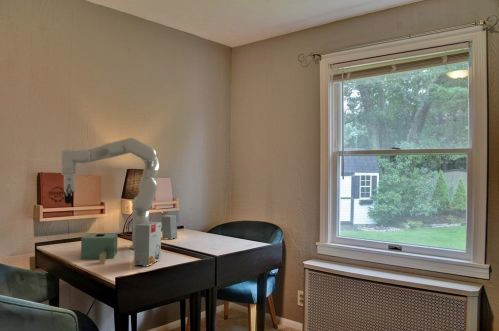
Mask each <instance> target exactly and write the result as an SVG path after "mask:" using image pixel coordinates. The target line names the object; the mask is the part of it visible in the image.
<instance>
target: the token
mask: <svg viewBox="0 0 499 331" xmlns="http://www.w3.org/2000/svg"><path fill="white" fill-rule="evenodd" d="M106 262H107V259H106V252H101V253H100V259H99V265H105V263H106Z"/></svg>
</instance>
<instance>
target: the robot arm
mask: <svg viewBox="0 0 499 331" xmlns="http://www.w3.org/2000/svg"><path fill="white" fill-rule="evenodd" d="M130 153H131V154H132V155H134V156H136V157H137V158H139V159H141V161H142V162H143V163H144V164H143V165H144V168H143V171H142V176H141V179H140V181H139V184H138V193H137V195H136V196H135V197H134V198H133V199H132V232H131V234H132V240H131V241H132V242H131V245H129V249H130V250H135V226H136V225H138V224H142V223H145V222H150V210H151V208H152V206H153V204H154V200H155V198H156V193H157V190H158V183H157V179H158V178H157V177H158V174H159V171H160V161H159V159H158V157H157V151H156V150H155V149H154V148H153V147H152V146H150V145H148V144H146V143H144V142H142V141H140V140H138V139H136V138H134V137H127V138H125V139H121V140H117V141H112V142H108V143H105V144H102V145H101V146H97V147H93V148H89V149H82V150H81V149H79V150H74V149H73V150H72V149H64V150H62V151H61V169H60V170H61V176H63V191H64V203H65V204H67V205H68V204H69V205H70V204H73V193H75V176H76V175H77V163H78V164H88V163H92V162H93V163H94V162H96V161H100V160H106V159H111V158H115V157H119V156H123V155H128V154H130Z"/></svg>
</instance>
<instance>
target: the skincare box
mask: <svg viewBox="0 0 499 331" xmlns="http://www.w3.org/2000/svg"><path fill="white" fill-rule="evenodd" d="M177 222H178V221H177V215H176V214H175V215H173V214H167V215H166V214H165V215H162V216H161V239H162V238H168V239H167V240H174V239H173V238H176V239H178V226H177V224H178V223H177Z"/></svg>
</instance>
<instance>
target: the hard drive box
mask: <svg viewBox="0 0 499 331" xmlns="http://www.w3.org/2000/svg"><path fill="white" fill-rule="evenodd" d="M161 244H162V221H160V222H159V221H149V222H145V223H142V224H138V225H136V226H135V249H133V250H134V255H133V265H149V264H151V263H153V262H155V261H157V260H159V259H160V260H161V254H162V253H161V251H162V250H161V249H162V248H161V246H162V245H161Z"/></svg>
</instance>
